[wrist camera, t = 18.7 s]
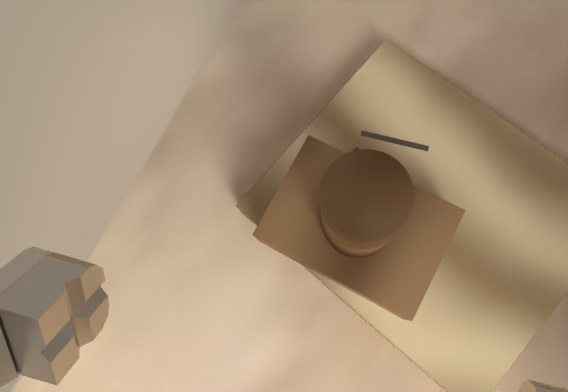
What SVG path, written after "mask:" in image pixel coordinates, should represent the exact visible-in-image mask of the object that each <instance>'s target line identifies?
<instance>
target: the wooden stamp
mask: <svg viewBox="0 0 568 392" xmlns="http://www.w3.org/2000/svg"><path fill="white" fill-rule="evenodd" d="M465 211H466V210H464V209H462V208H460V207H458V206H456V205H454V204H452V203H450V202H448V201H446V200H443V199H441V198H439V197H437V196H435V195H433V194H431V193H429V192H427V191H425V190H423V189H420V188H418V187H416V186H414V185H413V183H412V180H411V177H410V175H409V173H408V172H407V170H406V169H405V168H404V166H403V165H402V164H401V163H400V162H399V161H398V160H396V159H395V158H394V157H392V156H390V155H388V154H386V153H384V152H381V151H378V150H372V149H360V150H354V151H351V152H348V153H345V152H343V151H341V150H339V149H337V148H335V147H333V146H331V145H329V144H326V143H324V142H322V141H320V140H318V139H316V138H314V137H312V136H310V135H308V137H307V138H306V140H305V142H304V144H303V145H302V147H301V149H300V151H299V153H298V154H297V156H296V158H295V160H294V161H293V163H292V165H291V167H290V169H289V170H288V172H287V174H286V176H285V177H284V179H283V181H282V183H281V185H280V186H279V188H278V190H277V192H276V194H275V195H274V197H273V199H272V201H271V202H270V204H269V206H268V208H267V210H266V211H265V213H264V215H263V217H262V218H261V220H260V222H259V224H258V226H257V227H256V229H255V231H254V233H253V235H254V236H255V237H256V238H257V239H258V240H259V241H260V242H262V243H263V244H265V245H267V246H269V247H271V248H273V249H275V250H276V251H278V252H280V253H282V254H284V255H286V256H287V257H289V258H291V259H293V260H295V261H297V262H298V263H300V264H302V265H304V266H306V267H308V268H309V269H311V270H313V271H315V272H317V273H319V274H320V275H322V276H324V277H326V278H328V279H330V280H331V281H333V282H335V283H337V284H339V285H341V286H342V287H344V288H346V289H348V290H350V291H352V292H354V293H355V294H357V295H359V296H361V297H363V298H365V299H366V300H368V301H370V302H372V303H374V304H376V305H377V306H379V307H381V308H383V309H385V310H387V311H388V312H390V313H392V314H394V315H396V316H398V317H399V318H401V319H403V320H408V321H413V319H414V317H415V315H416V312H417V310H418V308H419V306H420V304H421V302H422V300H423V298H424V296H425V294H426V292H427V290H428V287H429V285H430V283H431V281H432V279H433V277H434V275H435V273H436V271H437V269H438V267H439V265H440V263H441V260H442V258H443V256H444V254H445V252H446V250H447V248H448V246H449V244H450V242H451V240H452V238H453V235H454V233H455V231H456V229H457V227H458V225H459V223H460V221H461V219H462V217H463V215H464V213H465Z"/></svg>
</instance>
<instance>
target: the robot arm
mask: <svg viewBox="0 0 568 392" xmlns="http://www.w3.org/2000/svg"><path fill="white" fill-rule="evenodd" d="M104 281H105V277H104V273H103V268H102V267H100V266H97V265H95V264H91V263H88V262H85V261H81V260H78V259H75V258H71V257H68V256H65V255H61V254H58V253H53V252H50V251H47V250H43V249H40V248H36V247H32V248H28V249H25V250H24V251H22V252H21V253H20V254H19V255H17V256H16V257H15V258H14V259H12V260H11V261H10V262H9V263H7V264H6V265H5V266H4V267H2V268H1V269H0V387H1V386H3V385H5V384H6V383H8V382H9V381H12V380H13V379H15V378H17V377H18V374H20V375H23V376H27V377H30V378H34V379H37V380H40V381H44V382H47V383H51V384H54V385H58V384H59V383H60V381H61V380H62V379H63V378H64V376H65V375H66V374H67V373H68V371H69V370H70V369H71V368H72V366H73V365H74V364H75V363H76V361H77V360H78V359H79V349H80V346H82V345H85V344H87V343H89V342H91V341H93V340H94V339H95V337H96V336H97V335H98V333H99V332H100V331H101V330H102V328H103V325H104V323H105V321H106V318H107V316H108V310H109V301H108V296H107V294H106V293H105V292H104V291H103V289H102V288H101V287H100V285H101V284H102V283H103V282H104ZM517 392H568V390H567V389H563V388H559V387H555V386H551V385H547V384H543V383H539V382H535V381H531V380H527V381H525V382H524V383H522V385H521V386H520V388H519V390H518V391H517Z"/></svg>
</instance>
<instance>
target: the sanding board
mask: <svg viewBox="0 0 568 392" xmlns="http://www.w3.org/2000/svg"><path fill="white" fill-rule="evenodd" d="M308 135H310V136H312V137H314V138H316V139H318V140H320V141H322V142H324V143H326V144H329V145H331V146H333V147H335V148H337V149H339V150H341V151H343V152H345V153H348V152H351V151H354V150H360V149H372V150H378V151H381V152H384V153H386V154H388V155H390V156H392V157H394V158H395V159H396V160H398V161H399V162H400V163H401V164H402V165H403V166H404V168H405V169H406V170H407V172H408V173H409V175H410V177H411V180H412V183H413V185H414V186H416V187H418V188H420V189H423V190H425V191H427V192H429V193H431V194H433V195H435V196H437V197H439V198H441V199H443V200H446V201H448V202H450V203H452V204H454V205H456V206H458V207H460V208H462V209H464V210H466V211H465V213H464V215H463V217H462V219H461V221H460V223H459V225H458V227H457V229H456V231H455V233H454V235H453V238H452V240H451V242H450V244H449V246H448V248H447V250H446V252H445V254H444V256H443V258H442V260H441V263H440V265H439V267H438V269H437V271H436V273H435V275H434V277H433V279H432V281H431V283H430V285H429V287H428V290H427V292H426V294H425V296H424V298H423V300H422V302H421V304H420V306H419V308H418V310H417V312H416V315H415V317H414V319H413V321H408V320H403V319H401V318H399V317H398V316H396V315H394V314H392V313H390V312H388V311H387V310H385V309H383V308H381V307H379V306H377V305H376V304H374V303H372V302H370V301H368V300H366V299H365V298H363V297H361V296H359V295H357V294H355V293H354V292H352V291H350V290H348V289H346V288H344V287H342V286H341V285H339V284H337V283H335V282H333V281H331V280H330V279H328V278H326V277H324V276H322V275H320V274H319V273H317V272H315V271H313V270H311V269H309V268H308V267H306V266H304V265H303V266H304V267H305V268H306V269H307V270H308V271H310V272H311V273H312V274H313V275H314V276H315V277H316V278H318V279H319V280H320V281H321V282H322V283H323V284H324V285H326V286H327V287H328V288H329V289H330V290H331V291H332V292H334V293H335V294H336V295H337V296H338V297H339V298H340V299H342V300H343V301H344V302H345V303H346V304H347V305H348V306H350V307H351V308H352V309H353V310H354V311H355V312H356V313H358V314H359V315H360V316H361V317H362V318H363V319H364V320H366V321H367V322H368V323H369V324H370V325H371V326H372V327H374V328H375V329H376V330H377V331H378V332H379V333H380V334H382V335H383V336H384V337H385V338H386V339H387V340H389V341H390V342H391V343H392V344H393V345H394V346H395V347H397V348H398V349H399V350H400V351H401V352H402V353H403V354H405V355H406V356H407V357H408V358H409V359H410V360H411V361H413V362H414V363H415V364H416V365H417V366H418V367H419V368H421V369H422V370H423V371H424V372H425V373H426V374H427V375H429V376H430V377H431V378H432V379H433V380H434V381H435V382H437V383H438V384H439V385H440V386H441V387H442V388H443V389H445V390H446V391H447V392H491V391H492V390H493V389H494V387H495V386H496V385H497V383H498V382H499V381H500V380H501V378H502V377H503V376H504V374H505V373H506V372H507V370H508V369H509V368H510V366H511V365H512V364H513V363H514V361H515V360H516V359H517V357H518V356H519V355H520V353H521V352H522V351H523V349H524V348H525V347H526V346H527V344H528V343H529V342H530V340H531V339H532V338H533V336H534V335H535V334H536V332H537V331H538V330H539V329H540V327H541V326H542V325H543V323H544V322H545V321H546V319H547V318H548V317H549V315H550V314H551V313H552V311H553V310H554V309H555V308H556V306H557V305H558V304H559V302H560V301H561V300H562V298H563V297H564V296H565V294H566V293H567V292H568V163H567V162H565V161H564V160H563V159H561V158H560V157H558V156H557V155H555V154H554V153H552V152H551V151H549V150H548V149H547V148H545V147H544V146H542V145H541V144H539V143H538V142H536V141H535V140H533V139H532V138H530V137H529V136H528V135H526V134H525V133H523V132H522V131H520V130H519V129H517V128H516V127H514V126H513V125H511V124H510V123H509V122H507V121H506V120H504V119H503V118H501V117H500V116H498V115H497V114H495V113H494V112H492V111H491V110H490V109H488V108H487V107H485V106H484V105H482V104H481V103H479V102H478V101H476V100H475V99H473V98H472V97H471V96H469V95H468V94H466V93H465V92H463V91H462V90H460V89H459V88H457V87H456V86H454V85H453V84H452V83H450V82H449V81H447V80H446V79H444V78H443V77H441V76H440V75H438V74H437V73H435V72H434V71H433V70H431V69H430V68H428V67H427V66H425V65H424V64H422V63H421V62H419V61H418V60H416V59H415V58H414V57H412V56H411V55H409V54H408V53H406V52H405V51H403V50H402V49H400V48H399V47H398V46H396V45H395V44H393V43H392V42H390V41H389V40H387V39H386V40H385V41H384V42H383V43H382V44H381V45H380V47H379V48H378V49H377V50H376V51H375V52H374V53H373V54H372V55H371V57H370V58H369V59H368V60H367V61H366V62H365V63H364V64H363V65H362V67H361V68H360V69H359V70H358V71H357V72H356V73H355V74H354V75H353V77H352V78H351V79H350V80H349V81H348V82H347V83H346V84H345V85H344V87H343V88H342V89H341V90H340V91H339V92H338V93H337V94H336V95H335V97H334V98H333V99H332V100H331V101H330V102H329V103H328V104H327V105H326V107H325V108H324V109H323V110H322V111H321V112H320V113H319V114H318V115H317V117H316V118H315V119H314V120H313V121H312V122H311V123H310V124H309V125H308V127H307V128H306V129H305V130H304V131H303V132H302V133H301V134H300V135H299V137H298V138H297V139H296V140H295V141H294V142H293V143H292V144H291V146H290V147H289V148H288V149H287V150H286V151H285V152H284V153H283V154H282V156H281V157H280V158H279V159H278V160H277V161H276V162H275V163H274V164H273V166H272V167H271V168H270V169H269V170H268V171H267V172H266V173H265V174H264V176H263V177H262V178H261V179H260V180H259V181H258V182H257V183H256V184H255V186H254V187H253V188H252V189H251V190H250V191H249V192H248V193H247V194H246V196H245V197H244V198H243V199H242V200H241V201H240V202H239V203H238V204H237V206H236V207H237V208H238V209H239V210H240V211H241V212H242V213H243V214H244V215H245V216H247V217H248V218H249V219H250V220H251V221H252V222H253V223H255V224H256V225H257V226H258V224H259V222H260V220H261V218H262V217H263V215H264V213H265V211H266V210H267V208H268V206H269V204H270V202H271V201H272V199H273V197H274V195H275V194H276V192H277V190H278V188H279V186H280V185H281V183H282V181H283V179H284V177H285V176H286V174H287V172H288V170H289V169H290V167H291V165H292V163H293V161H294V160H295V158H296V156H297V154H298V153H299V151H300V149H301V147H302V145H303V144H304V142H305V140H306V138H307V137H308Z"/></svg>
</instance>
